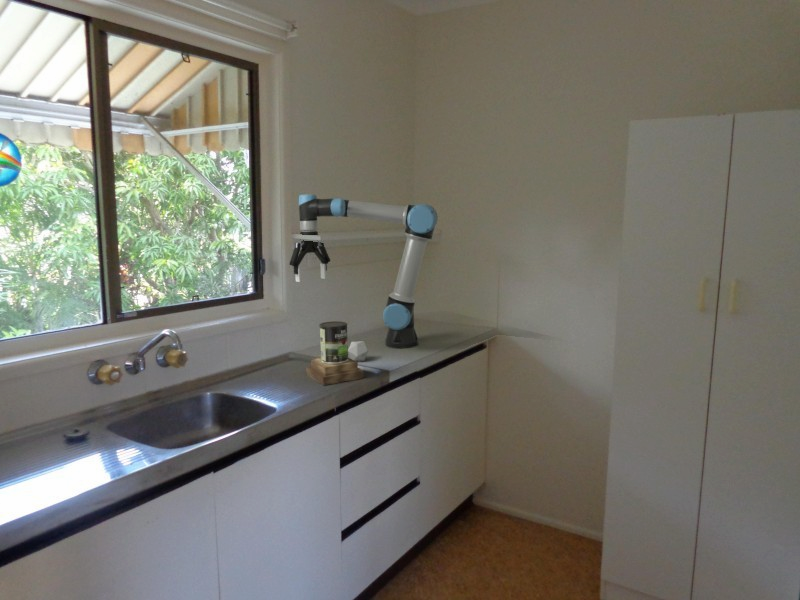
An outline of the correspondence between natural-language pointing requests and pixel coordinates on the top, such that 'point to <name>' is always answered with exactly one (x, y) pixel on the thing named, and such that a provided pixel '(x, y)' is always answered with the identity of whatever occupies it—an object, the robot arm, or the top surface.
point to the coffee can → (333, 342)
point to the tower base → (334, 377)
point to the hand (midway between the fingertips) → (311, 280)
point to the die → (357, 351)
